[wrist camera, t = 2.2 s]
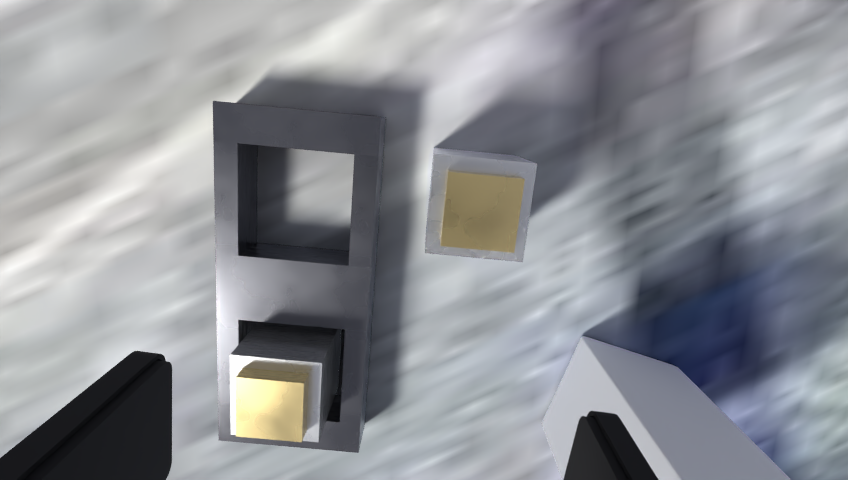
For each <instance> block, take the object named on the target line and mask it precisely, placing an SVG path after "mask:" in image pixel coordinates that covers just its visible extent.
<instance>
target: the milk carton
mask: <svg viewBox="0 0 848 480" xmlns="http://www.w3.org/2000/svg"><path fill="white" fill-rule="evenodd" d="M590 411H598V412H606V413H614V414H617V415H618V416H619V418H620V419H621V421H622V422H623V424H624V426H625V427H626V429H627V430H628V432H629V433H630V435H631V437H632V438H633V440H634V441H635V443H636V445H637V446H638V448H639V449H640V451H641V453H642V454H643V456H644V457H645V459H646V461H647V462H648V464H649V465H650V467H651V469H652V470H653V472H654V473H655V475H656V476H657V478H658V480H791V479H790V478H789V477H788V476H787V475H786V474H785V473H784V472H783V471H782V470H781V469H780V468H779V467H778V466H777V465H776V464H775V463H774V462H773V461H772V460H771V459H770V458H769V457H768V456H767V455H766V454H765V453H764V452H763V451H762V450H761V449H760V448H759V447H758V446H757V445H756V444H755V443H754V442H753V441H752V440H751V439H750V438H749V437H748V436H747V435H746V434H745V433H744V432H743V431H742V430H741V429H740V428H739V427H738V426H737V425H736V424H735V423H734V422H733V421H732V420H731V419H730V418H729V417H728V416H727V415H726V414H725V413H723V412H722V411H721V410H720V409H719V408H718V407H717V406H716V405H715V404H714V403H713V402H712V401H711V400H710V399H709V398H708V397H707V396H706V395H705V394H704V393H703V392H702V391H701V390H700V389H699V388H698V387H697V386H696V385H695V384H694V383H693V382H692V381H691V380H690V379H689V378H688V377H687V376H686V375H685V374H684V373H683V372H682V371H681V370H680V369H679V368H678V367H676V366H674V365H671V364H668V363H665V362H662V361H659V360H656V359H653V358H650V357H647V356H644V355H641V354H638V353H635V352H632V351H629V350H626V349H623V348H619V347H616V346H613V345H610V344H607V343H604V342H601V341H598V340H595V339H592V338H589V337H585V336H582V337H581V338H580V341H579V343H578V345H577V347H576V349H575V351H574V354H573V356H572V358H571V360H570V362H569V364H568V367H567V369H566V371H565V373H564V375H563V377H562V380H561V382H560V384H559V386H558V388H557V390H556V393H555V395H554V397H553V399H552V401H551V404H550V406H549V408H548V410H547V412H546V414H545V417H544V419H543V421H542V427H543V429H544V432H545V435H546V437H547V440H548V443H549V446H550V448H551V451H552V454H553V457H554V459H555V462H556V465H557V468H558V470H559V473H560V476H561V478H562V480H563V479H564V475H565V471H566V468H567V464H568V460H569V456H570V452H571V449H572V445H573V441H574V437H575V433H576V430H577V426H578V422H579V419H580V418H581V417H582V416H586V417H587V414H588V413H589V412H590Z"/></svg>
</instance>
